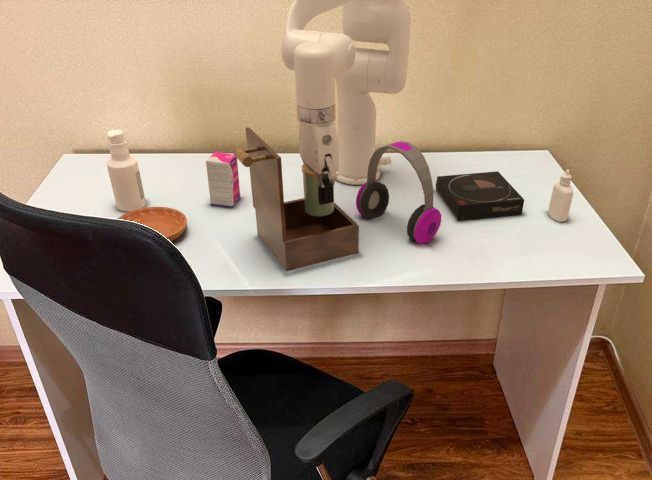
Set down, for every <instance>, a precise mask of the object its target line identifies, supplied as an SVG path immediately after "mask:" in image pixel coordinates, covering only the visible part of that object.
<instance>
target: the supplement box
mask: <svg viewBox="0 0 652 480" xmlns="http://www.w3.org/2000/svg"><path fill="white" fill-rule="evenodd" d="M205 166H206V173H207V174H206V175H207V184H208V193H209V201H210V206H212V207H219V208H227V209H233V208H234V207H235V205H236V204H237V203H238V201H239V200H240V199H241V189H240V187H241V186H240V177H239V165H238V159H237V158H236V156H235V155H234V154H233V153H226V152H220V151H215V152H213V153H212V154H211V155H210V156H209V157H208V158H207V159H206V160H205Z"/></svg>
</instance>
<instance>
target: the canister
mask: <svg viewBox="0 0 652 480" xmlns="http://www.w3.org/2000/svg"><path fill="white" fill-rule="evenodd" d="M323 171H327V169H326V168H323V169H322V172H323ZM301 173H302V185H303V198H304V207H305V212H306V213H308V214H309V215H312V216H326V215H329V214H331V213H332V212H333V211H334V203H335V200H334V201H333V202H332V203H328V204H324V205H320V204H319V193H318V187H319V186H320V183H319V178H318V174H317V173H316V172H314V171H313V170H312V169H311V168H310V167H309V166H308V165H307V164H306V163H303V164H302V165H301ZM325 178H328V174H325V175H323V180H325ZM333 188H334V189H335V185H334V186H333Z"/></svg>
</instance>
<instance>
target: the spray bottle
mask: <svg viewBox="0 0 652 480" xmlns="http://www.w3.org/2000/svg"><path fill="white" fill-rule="evenodd" d="M107 138H108V142H107V143H108V147H109V154H110V157H111V158H108V160H107V161H106V167H107V172H108V177H109V179H110V180H109V181H110V184H111V189H112V193H113V197H114V201H115V205H116V209H118V210H120V211H122V212H130V211H133V210H136V209H140V208H145V206H146V204H147V202H146V197H145V192H144V186H143V182H142V178H141V173H140V168H139V164H138V159H137V158H136V157H134V156H133V155H130V151H129V148H128V143H127V140H126V138H125V134H124V131H123V129H111V130H108V131H107Z"/></svg>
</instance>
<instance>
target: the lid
mask: <svg viewBox="0 0 652 480" xmlns="http://www.w3.org/2000/svg"><path fill="white" fill-rule="evenodd" d="M245 137H246V146H247V148H243V147H241V146H236V147H234V148H233V151H232V154H234V155H235V156H236V158H237V161H239V162H240V163H241V164H242V165H243V166H244V167H245V168H249V177H250V187H251V188H250V189H251V196H252V197H251V198H252V206H253V209H254V210H255V209H256V210H257V212H258V213H259V214H260V215H261V216H262V218H263V219H264V220H265V221H266V222H267V223H268V225H269V226H270V227H271V228H272V229H273V230H274V232H275V233H276V234H277V235H278V236H279V238H280V239H281V240H282V241H286V226H285V211H284V202H285V195H284V183H283V167H282V165H283V163H282V157H281V156H280V155H279V154H278V153H277V152H276V151H275V150H273V148H271V147H270V146H269V144H267V142H265V140H263V139H262V138H261V136H259V135H258V134H257V133H256V132H255V131H254V130H253V129H252V128H251V127H249V126H248V127H245Z"/></svg>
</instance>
